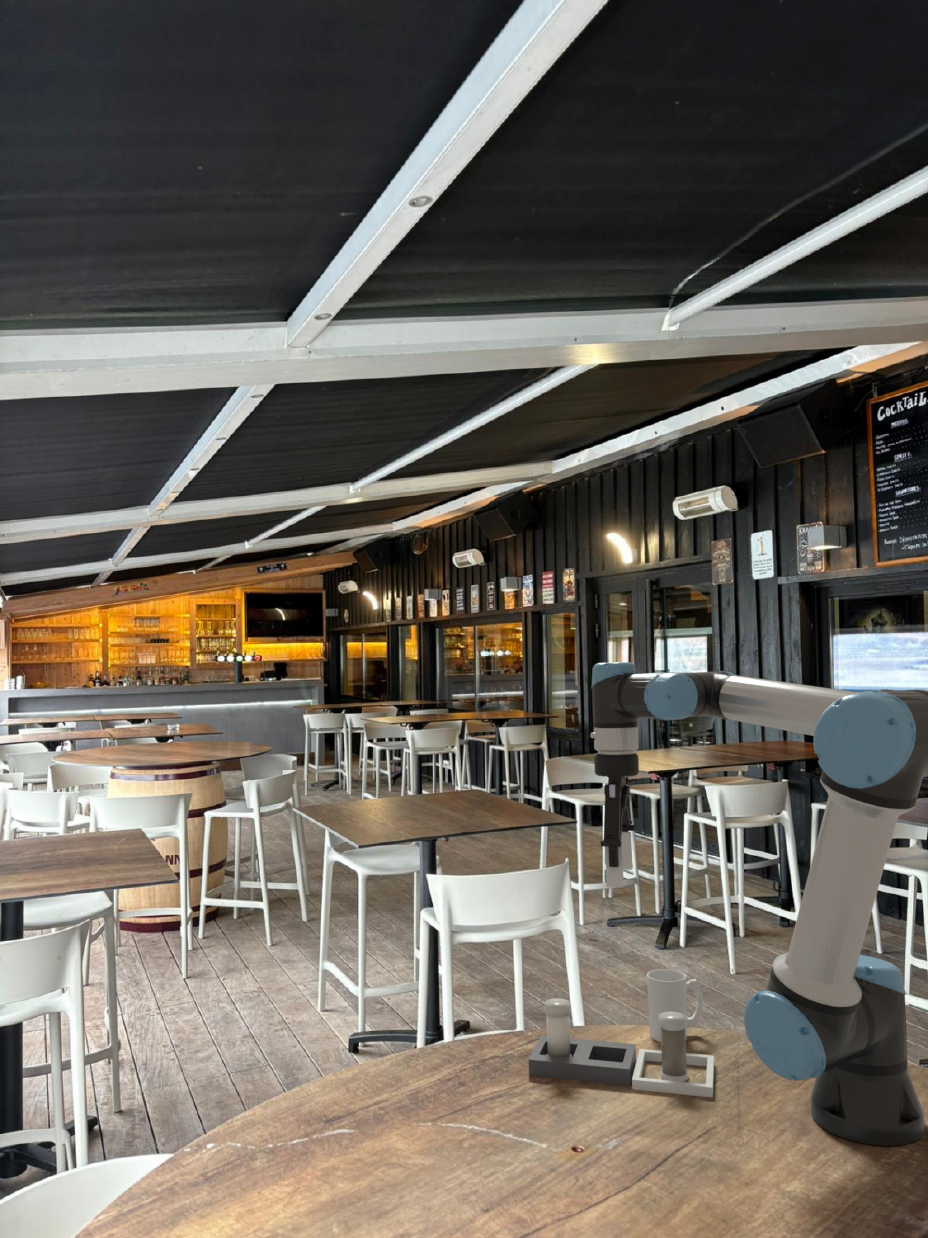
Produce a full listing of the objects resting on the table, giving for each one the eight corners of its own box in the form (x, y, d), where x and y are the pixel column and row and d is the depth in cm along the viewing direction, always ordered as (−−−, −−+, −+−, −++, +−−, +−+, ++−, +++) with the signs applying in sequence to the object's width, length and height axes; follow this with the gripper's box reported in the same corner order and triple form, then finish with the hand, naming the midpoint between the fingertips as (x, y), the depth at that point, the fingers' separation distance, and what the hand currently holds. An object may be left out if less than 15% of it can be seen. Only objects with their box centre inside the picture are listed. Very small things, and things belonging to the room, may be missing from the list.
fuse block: (636, 1069, 153) (635, 1044, 153) (630, 1096, 143) (629, 1069, 143) (541, 1059, 157) (540, 1035, 157) (529, 1085, 147) (528, 1059, 148)
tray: (714, 1074, 150) (713, 1055, 150) (713, 1107, 139) (712, 1087, 139) (640, 1066, 153) (639, 1049, 154) (632, 1099, 142) (632, 1079, 142)
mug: (657, 1054, 158) (654, 983, 159) (643, 1039, 165) (641, 970, 166) (712, 1049, 160) (709, 978, 161) (696, 1034, 166) (694, 966, 167)
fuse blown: (688, 1076, 147) (686, 1012, 148) (687, 1088, 143) (685, 1022, 144) (662, 1074, 149) (659, 1010, 149) (660, 1085, 145) (657, 1020, 145)
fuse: (574, 1061, 153) (572, 999, 153) (569, 1071, 149) (568, 1008, 149) (549, 1058, 154) (547, 997, 154) (544, 1069, 150) (542, 1006, 150)
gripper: (603, 746, 171) (607, 861, 170) (583, 758, 147) (587, 893, 146) (644, 746, 169) (648, 863, 168) (630, 759, 145) (634, 895, 144)
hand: (619, 877), depth 157 cm, fingers open, 13 cm apart
